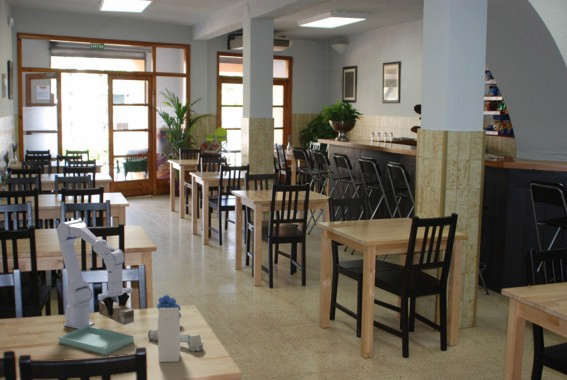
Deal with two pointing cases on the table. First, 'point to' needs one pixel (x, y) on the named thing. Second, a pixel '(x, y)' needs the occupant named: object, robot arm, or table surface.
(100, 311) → the walnut strut
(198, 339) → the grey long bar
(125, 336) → the tray
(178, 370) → the table surface
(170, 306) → the grapes
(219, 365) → the table surface
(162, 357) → the milk carton
